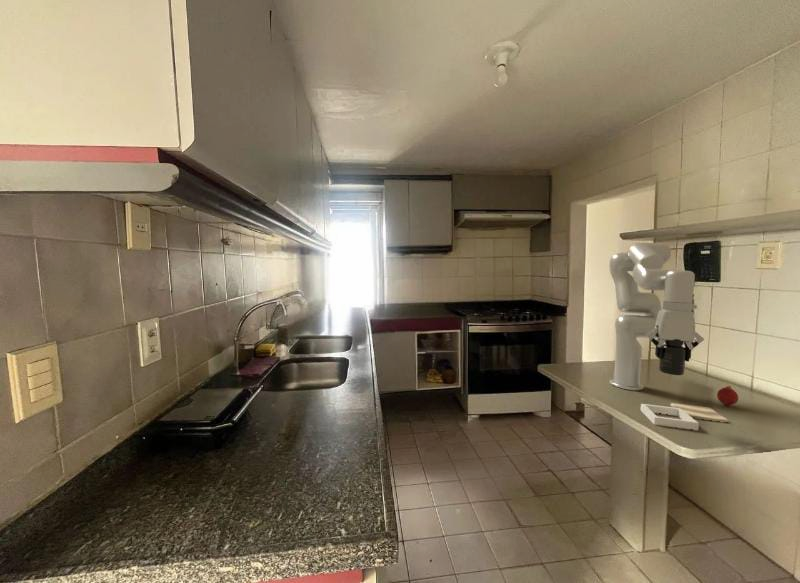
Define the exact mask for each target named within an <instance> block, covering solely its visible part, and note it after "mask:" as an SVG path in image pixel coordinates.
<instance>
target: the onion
mask: <svg viewBox="0 0 800 583" xmlns="http://www.w3.org/2000/svg"><path fill="white" fill-rule="evenodd" d="M716 397H717V399H718V401H719V402H720V403H721V404H723V405H724V406H726V407H730V406H732V405H734V404H737V402H738V401H739V395H738V393H737V392H736V391H735V390H734V389H733V388H732V386H731V385H727V386H725V387H722V388H720V389H719V390H718V391H717V394H716Z"/></svg>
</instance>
